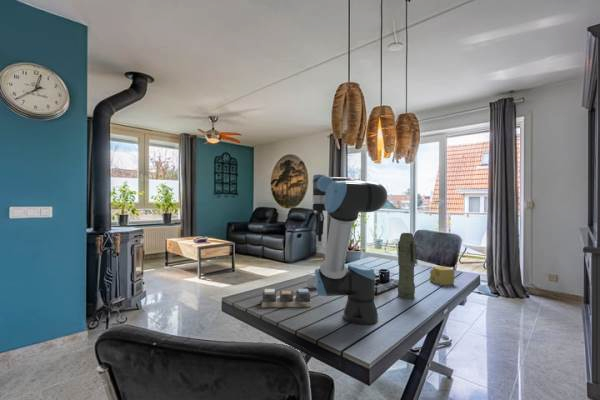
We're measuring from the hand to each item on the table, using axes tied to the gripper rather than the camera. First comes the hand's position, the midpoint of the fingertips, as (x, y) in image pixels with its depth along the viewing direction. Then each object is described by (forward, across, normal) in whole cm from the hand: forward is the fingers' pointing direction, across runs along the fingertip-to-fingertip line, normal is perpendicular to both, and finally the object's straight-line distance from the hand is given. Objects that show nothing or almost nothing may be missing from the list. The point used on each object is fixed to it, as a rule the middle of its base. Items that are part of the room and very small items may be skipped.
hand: (319, 247), depth 154 cm
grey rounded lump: (+27, +18, 0) cm, 33 cm away
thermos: (+28, -1, -49) cm, 56 cm away
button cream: (+24, -6, +26) cm, 36 cm away
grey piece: (+27, -7, +18) cm, 33 cm away
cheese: (+27, +22, -86) cm, 93 cm away
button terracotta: (+25, -7, +18) cm, 31 cm away
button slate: (+24, -7, +9) cm, 27 cm away
